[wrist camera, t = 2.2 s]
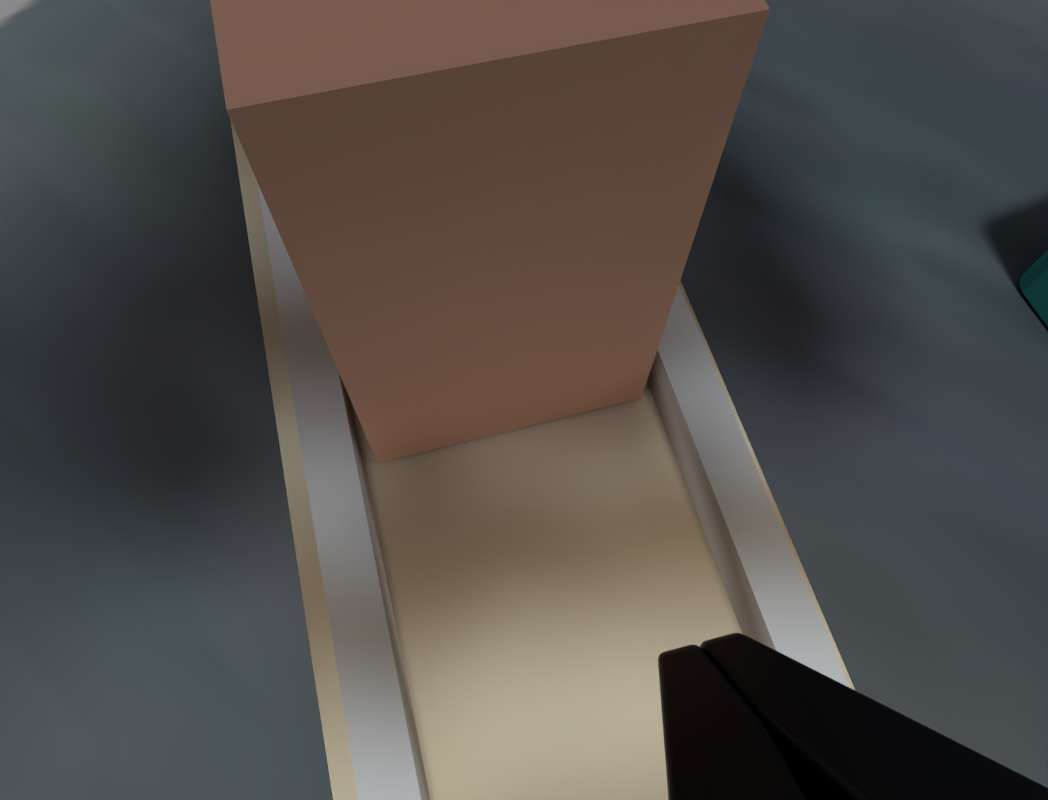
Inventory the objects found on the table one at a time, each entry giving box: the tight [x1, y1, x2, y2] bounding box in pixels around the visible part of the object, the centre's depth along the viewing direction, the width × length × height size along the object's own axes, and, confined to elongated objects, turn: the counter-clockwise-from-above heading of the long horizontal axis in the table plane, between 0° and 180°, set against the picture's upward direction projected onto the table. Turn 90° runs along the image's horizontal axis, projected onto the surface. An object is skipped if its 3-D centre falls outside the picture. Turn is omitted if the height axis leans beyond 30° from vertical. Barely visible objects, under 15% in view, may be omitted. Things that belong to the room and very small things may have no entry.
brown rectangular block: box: [210, 0, 770, 463], centre depth 14 cm, size 4×6×10 cm, turn 105°
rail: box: [230, 119, 855, 800], centre depth 17 cm, size 23×10×6 cm, turn 15°
